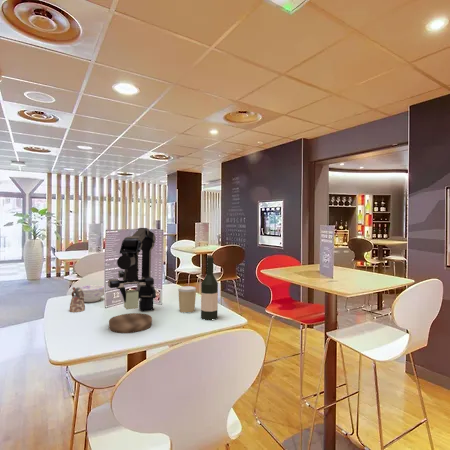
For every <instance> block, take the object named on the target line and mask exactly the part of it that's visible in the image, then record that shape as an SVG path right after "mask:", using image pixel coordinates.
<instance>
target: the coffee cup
mask: <svg viewBox="0 0 450 450" xmlns="http://www.w3.org/2000/svg"><path fill="white" fill-rule="evenodd" d="M177 290H178V306H179V307H178V308H179V312H180V313H182V312H191V313H194V312H195V309H196V307H195V306H196V298H197V297H196V296H197V288H196V286H189V285H188V286H180V287H179V288H178V289H177ZM193 311H194V312H193Z"/></svg>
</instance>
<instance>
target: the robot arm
mask: <svg viewBox="0 0 450 450" xmlns="http://www.w3.org/2000/svg"><path fill="white" fill-rule="evenodd" d="M136 230H137V231H136V232H134V233H133V234H132V235H131V236H130V235H129V236H126V237H124V239H123V240H122V242H121V245H120V246H121V247H120V250H119V255H120V254H121V255H120V256H119V257H118V258H117V261H116V265H117V267H118V268H119V270H118V273H117V274H118V278H119V279H122V280H119V279H118V278H113V279H111V278H110V279H109V280H108V281H107V286H108V288H109V289H117V290H119V291H120V293H121V296H122V300H123V303H124V302H126V293H125V291H126V287H125V286H126V285H137V286H136V287H137V288H136V290H137V291H138V309H139V310H140V311H141V312H149V311H154V310H155V308H154V299H157V293H156V288H155V286H154V285H155V279H154V278H153V277H151V273H152V272H151V271H152V270H151V266H152V265H151V264H152V251H153V249H154V247H155V243H156V236H155V233H154V232H152V231H151V230H149V228H148V227H138V228H137V229H136ZM140 253H141V278H139V271H140V269H139V256H140ZM120 269H121V270H120Z"/></svg>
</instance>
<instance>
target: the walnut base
mask: <svg viewBox="0 0 450 450" xmlns="http://www.w3.org/2000/svg"><path fill="white" fill-rule="evenodd" d="M108 320H109V321H108V329H109V331H110V332H112V333H118V334H132V333H139V332H143V331H146V330H148V329H150V328H151V327H152V325H153V317H152V315H150V314H147V313H143V312H142V313H139V312H138V313H137V312H136V313H135V312H132V313H131V312H130V313H123V314H119V315H115V316H113V317H111V318H110V319H108Z"/></svg>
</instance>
